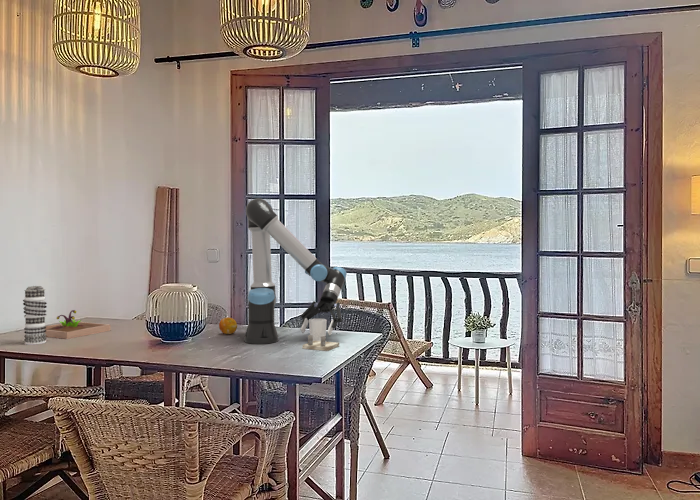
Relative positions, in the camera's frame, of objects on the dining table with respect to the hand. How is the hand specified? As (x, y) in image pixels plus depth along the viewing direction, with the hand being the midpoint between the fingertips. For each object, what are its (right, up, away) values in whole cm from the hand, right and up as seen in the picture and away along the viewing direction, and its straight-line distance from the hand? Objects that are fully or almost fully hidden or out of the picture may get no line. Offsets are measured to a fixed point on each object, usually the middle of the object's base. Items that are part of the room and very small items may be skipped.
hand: (315, 332), depth 249 cm
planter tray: (-121, -4, +25) cm, 124 cm away
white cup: (+1, -5, +2) cm, 5 cm away
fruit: (-44, -4, +22) cm, 49 cm away
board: (+3, -5, -10) cm, 12 cm away
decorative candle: (-124, -5, -1) cm, 124 cm away
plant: (-122, -4, +26) cm, 125 cm away
